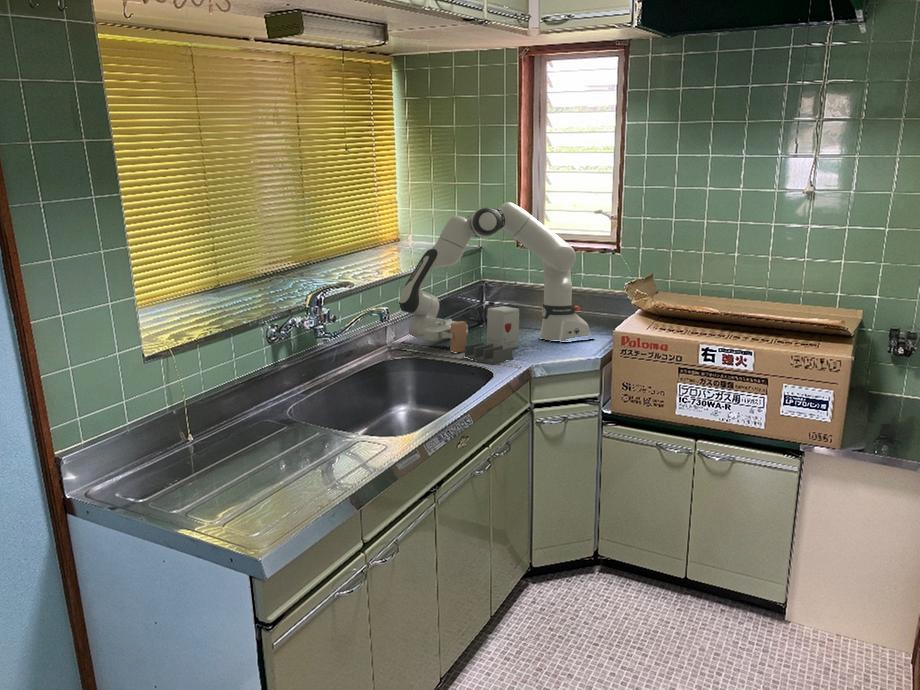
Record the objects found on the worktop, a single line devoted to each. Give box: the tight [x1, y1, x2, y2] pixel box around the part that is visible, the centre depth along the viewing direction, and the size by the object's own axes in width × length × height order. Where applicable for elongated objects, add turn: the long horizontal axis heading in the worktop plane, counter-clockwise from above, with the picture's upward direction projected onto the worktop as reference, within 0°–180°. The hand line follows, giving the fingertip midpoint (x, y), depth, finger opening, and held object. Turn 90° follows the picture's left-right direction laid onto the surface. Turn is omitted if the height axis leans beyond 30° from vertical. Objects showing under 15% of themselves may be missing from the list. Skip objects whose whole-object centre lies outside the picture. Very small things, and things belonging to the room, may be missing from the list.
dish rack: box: [463, 341, 514, 366], centre depth 264 cm, size 11×14×4 cm
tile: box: [449, 320, 467, 353], centre depth 273 cm, size 6×2×11 cm, turn 137°
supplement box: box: [486, 306, 520, 349], centre depth 283 cm, size 9×9×15 cm
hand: (460, 334), depth 272 cm, fingers closed on tile, 6 cm apart
